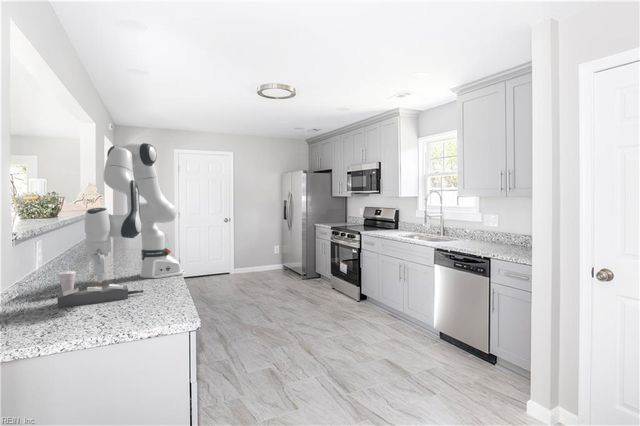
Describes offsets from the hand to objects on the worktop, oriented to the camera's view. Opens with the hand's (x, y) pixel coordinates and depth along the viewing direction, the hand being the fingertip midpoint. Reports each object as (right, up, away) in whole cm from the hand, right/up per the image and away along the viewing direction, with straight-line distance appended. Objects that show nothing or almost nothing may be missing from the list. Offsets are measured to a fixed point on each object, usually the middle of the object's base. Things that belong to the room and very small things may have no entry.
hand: (100, 281), depth 149 cm
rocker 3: (+5, -4, +3) cm, 7 cm away
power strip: (0, -8, +2) cm, 8 cm away
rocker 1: (-8, -4, -5) cm, 10 cm away
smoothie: (-20, -8, +10) cm, 23 cm away
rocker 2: (-2, -4, -1) cm, 4 cm away
